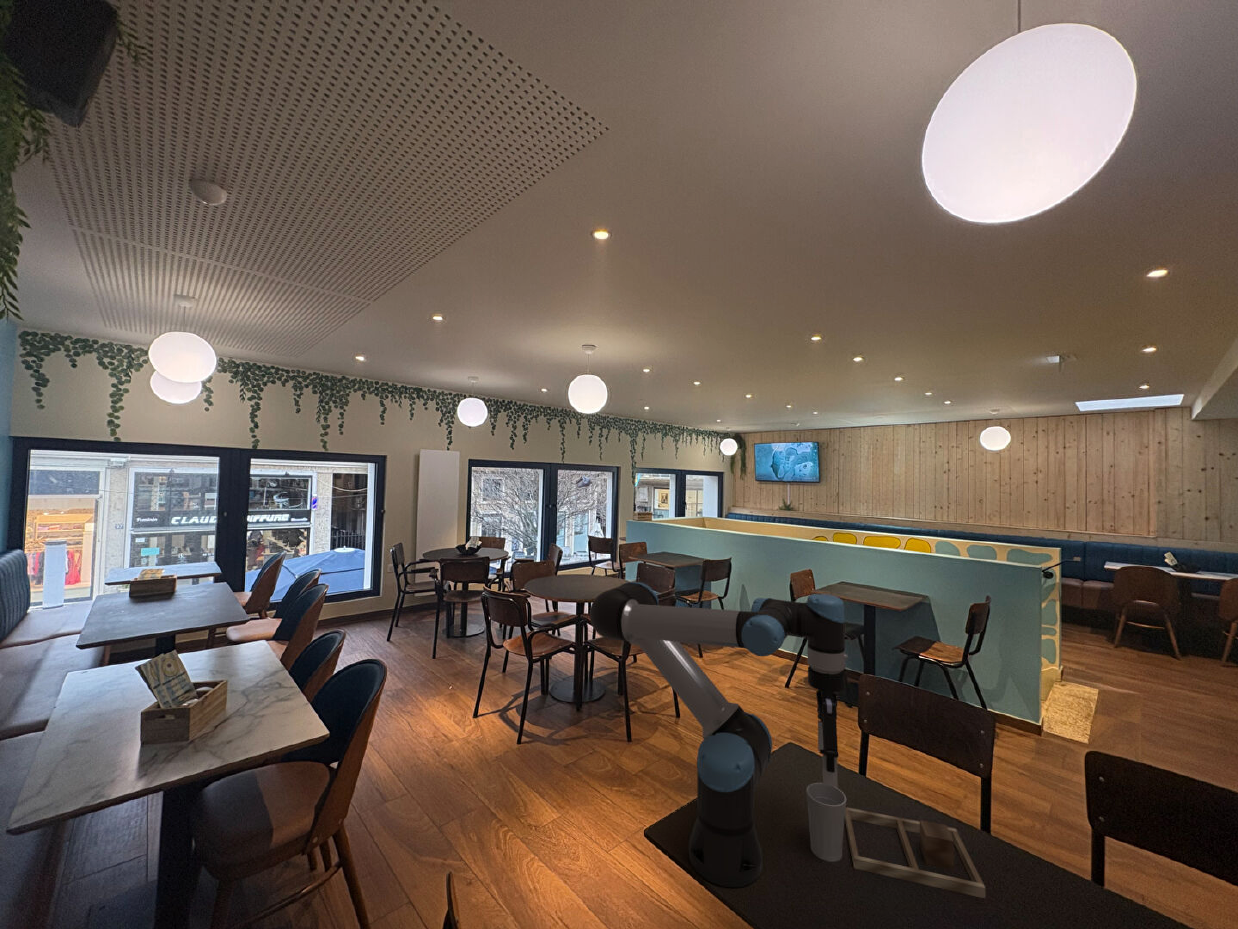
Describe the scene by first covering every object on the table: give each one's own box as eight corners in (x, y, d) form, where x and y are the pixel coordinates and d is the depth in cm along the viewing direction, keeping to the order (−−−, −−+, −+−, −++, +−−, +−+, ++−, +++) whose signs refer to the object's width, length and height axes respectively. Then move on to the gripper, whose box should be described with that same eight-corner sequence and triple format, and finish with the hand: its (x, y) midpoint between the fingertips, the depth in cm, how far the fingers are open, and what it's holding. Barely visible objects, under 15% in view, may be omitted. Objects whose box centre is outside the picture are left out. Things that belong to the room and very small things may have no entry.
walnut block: (926, 865, 104) (925, 835, 104) (919, 848, 108) (919, 820, 108) (954, 871, 102) (953, 841, 102) (946, 853, 107) (946, 825, 107)
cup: (850, 867, 103) (850, 808, 103) (810, 861, 104) (809, 803, 104) (841, 840, 110) (841, 785, 111) (803, 834, 112) (803, 780, 112)
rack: (853, 868, 102) (853, 858, 102) (844, 815, 118) (844, 806, 119) (985, 898, 95) (985, 888, 95) (955, 838, 111) (955, 828, 111)
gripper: (852, 693, 95) (854, 806, 95) (838, 651, 119) (839, 741, 118) (811, 688, 98) (811, 798, 97) (805, 647, 121) (806, 736, 121)
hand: (827, 767), depth 108 cm, fingers open, 13 cm apart
